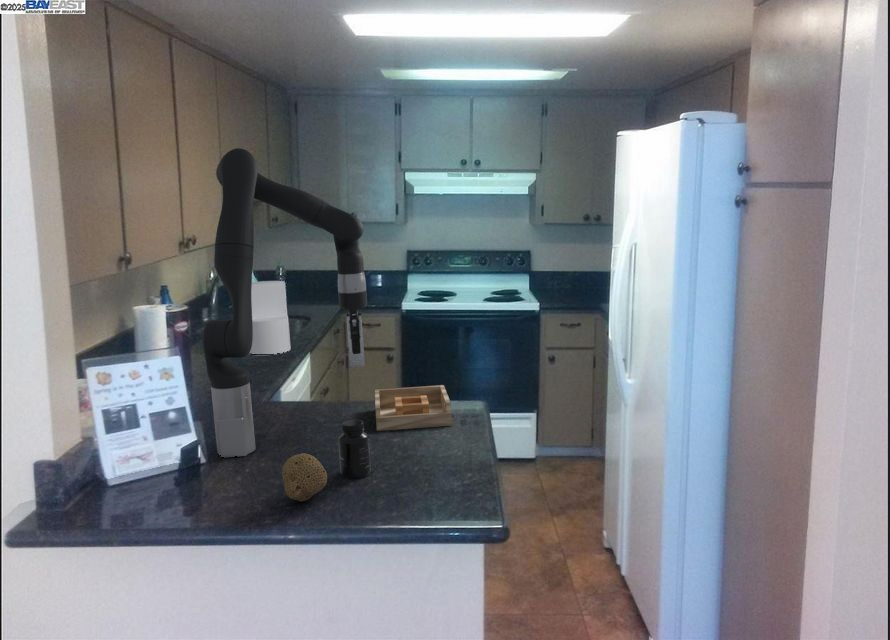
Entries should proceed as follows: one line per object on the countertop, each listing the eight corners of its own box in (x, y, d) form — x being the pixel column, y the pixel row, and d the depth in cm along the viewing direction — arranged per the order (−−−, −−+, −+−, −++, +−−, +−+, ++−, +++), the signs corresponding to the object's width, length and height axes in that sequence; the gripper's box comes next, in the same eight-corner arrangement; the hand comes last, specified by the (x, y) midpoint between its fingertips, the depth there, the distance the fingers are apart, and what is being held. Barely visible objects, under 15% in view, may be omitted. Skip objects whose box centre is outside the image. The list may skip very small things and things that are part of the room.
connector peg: (364, 366, 205) (361, 322, 203) (350, 367, 204) (347, 323, 202) (364, 362, 209) (361, 320, 207) (350, 363, 208) (347, 321, 206)
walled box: (452, 425, 201) (451, 403, 200) (376, 430, 199) (375, 409, 198) (444, 404, 221) (443, 385, 220) (376, 409, 219) (374, 389, 218)
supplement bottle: (334, 477, 168) (330, 425, 166) (352, 466, 174) (348, 416, 172) (360, 481, 165) (356, 428, 163) (377, 470, 171) (373, 419, 169)
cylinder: (244, 349, 315) (238, 283, 311) (285, 344, 322) (280, 279, 318) (252, 357, 300) (246, 287, 295) (295, 351, 307) (289, 283, 302)
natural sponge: (330, 490, 160) (327, 445, 158) (325, 508, 151) (322, 460, 150) (287, 493, 160) (284, 448, 158) (280, 510, 151) (276, 463, 149)
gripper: (366, 292, 196) (370, 356, 199) (365, 285, 210) (369, 345, 213) (337, 294, 196) (342, 358, 199) (338, 287, 209) (343, 347, 213)
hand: (356, 351), depth 206 cm, fingers closed on connector peg, 4 cm apart
